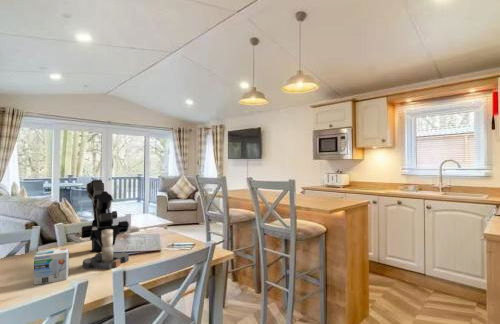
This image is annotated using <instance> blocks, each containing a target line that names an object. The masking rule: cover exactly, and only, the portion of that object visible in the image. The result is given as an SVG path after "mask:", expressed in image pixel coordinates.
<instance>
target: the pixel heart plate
mask: <svg viewBox="0 0 500 324" xmlns="http://www.w3.org/2000/svg"><path fill="white" fill-rule="evenodd" d="M129 256H130V255H129V253H128V252H123V251H122V252H114V251H113V261H112V262H110V263H103V262H102V252H97V253H96V254H95V255H94V256H92V257H87V258H85V259H83V261H82V269H84V270H91V269H95V270H96V269H97V270H109V271H110V270H111V269H114V268H119V267H120V266H121V264H123V263H127V262H129V260H130V259H129V258H130V257H129Z"/></svg>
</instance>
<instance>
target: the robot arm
mask: <svg viewBox="0 0 500 324" xmlns="http://www.w3.org/2000/svg"><path fill="white" fill-rule="evenodd" d="M85 191H86V194H87V197H88V198H89V199H90V200H91V205H92V216H93V220H92V223H91V224H89V225H83V226H81V227H80V228H81V230H80V236H81V239H87V238H89V240H90V241H91V249H90V250H89V252H90V253H91V252H92V253H102V230H105V229H113V246H115V245H116V239H117V236H119V235H120V234H121V233H126V232H128V230H129V226H130V225H129V221H127V220H122V221H118V224H115V225H114V220H117V219H118V212H117V210H114V211H113V210H112V211H111V210H110V208H111V206H112V201H114V199H113V196H112V195H111V194H110V193H109V192H108V191H106V190H105V183H104V182H103V180H101V179H93V180H90V182H89V183H87V184H86V187H85Z"/></svg>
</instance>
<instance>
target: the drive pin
mask: <svg viewBox="0 0 500 324" xmlns="http://www.w3.org/2000/svg"><path fill="white" fill-rule="evenodd" d="M113 252H114V245H113V229H105V230H102V252H101V253H102V262H103V263H110V262H112V261H113Z"/></svg>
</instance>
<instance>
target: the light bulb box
mask: <svg viewBox="0 0 500 324" xmlns="http://www.w3.org/2000/svg"><path fill="white" fill-rule="evenodd" d="M69 251H70V248H69V247H65V248H57V249H56V248H55V249H49V250H40V251H37V252H36V253H35V255H34V256H33V285H34V286H36V285H42V284H49V283H50V284H51V283H54V282H62V281H67V280H68V276H69V274H70V270H69V269H70V267H69V266H70V265H69V264H70V257H69V256H70V255H69Z"/></svg>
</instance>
